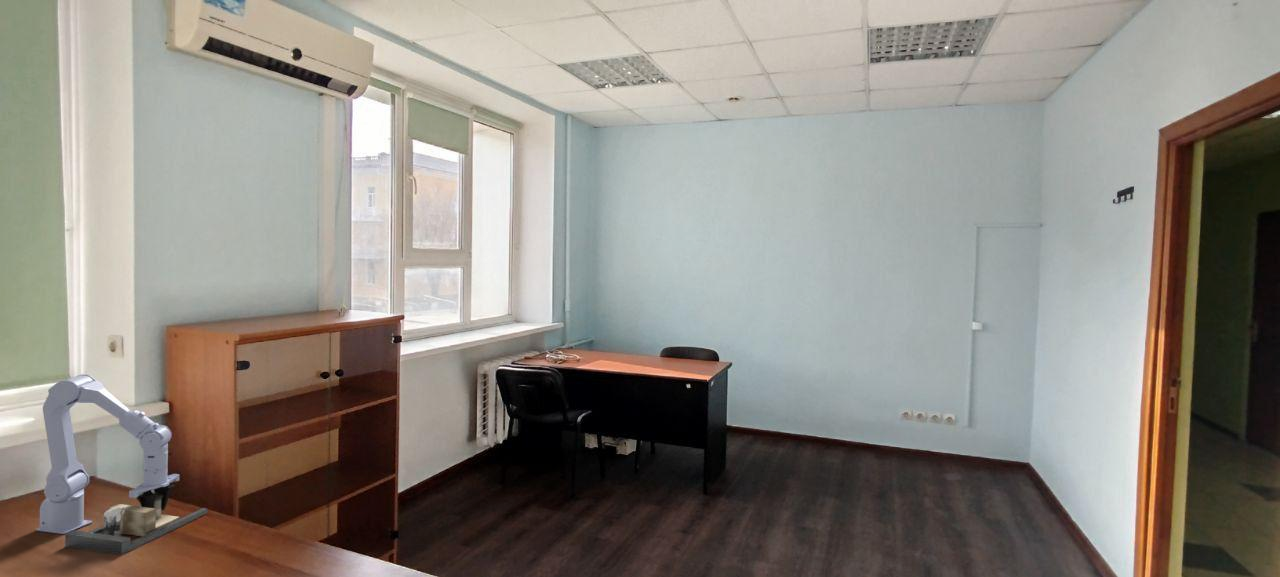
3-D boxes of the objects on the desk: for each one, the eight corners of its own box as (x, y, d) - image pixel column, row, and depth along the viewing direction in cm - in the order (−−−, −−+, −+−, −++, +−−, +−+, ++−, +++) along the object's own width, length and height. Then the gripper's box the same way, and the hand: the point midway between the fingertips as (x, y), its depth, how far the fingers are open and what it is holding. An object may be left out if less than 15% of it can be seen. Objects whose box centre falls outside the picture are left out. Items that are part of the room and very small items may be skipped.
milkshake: (114, 546, 169) (114, 510, 168) (98, 543, 170) (99, 507, 169) (131, 538, 173) (131, 504, 173) (115, 536, 174) (116, 501, 174)
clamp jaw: (108, 531, 176) (109, 504, 175) (144, 516, 187) (145, 489, 186) (145, 536, 174) (146, 508, 174) (179, 520, 185) (180, 494, 185)
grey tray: (65, 547, 167) (65, 534, 166) (157, 506, 194) (157, 495, 194) (121, 554, 164) (121, 541, 164) (207, 513, 192) (207, 502, 191)
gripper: (144, 477, 175) (143, 524, 175) (188, 461, 189) (187, 504, 190) (122, 475, 176) (122, 521, 176) (168, 459, 190) (167, 501, 191)
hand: (154, 512), depth 183 cm, fingers closed on clamp jaw, 3 cm apart
